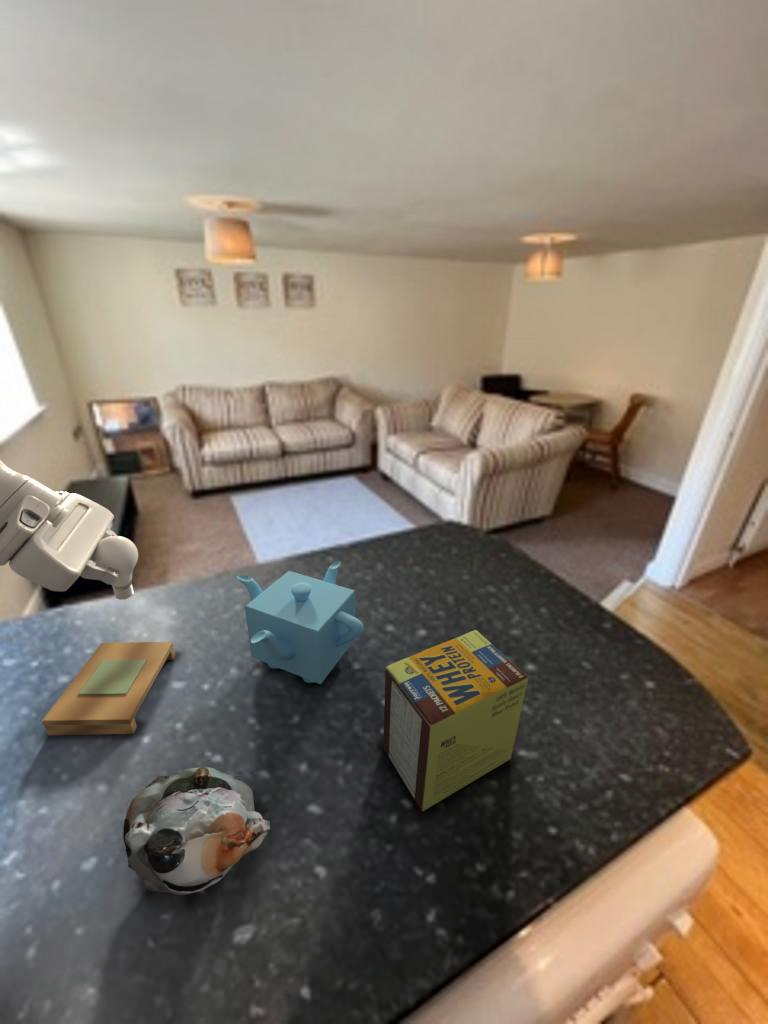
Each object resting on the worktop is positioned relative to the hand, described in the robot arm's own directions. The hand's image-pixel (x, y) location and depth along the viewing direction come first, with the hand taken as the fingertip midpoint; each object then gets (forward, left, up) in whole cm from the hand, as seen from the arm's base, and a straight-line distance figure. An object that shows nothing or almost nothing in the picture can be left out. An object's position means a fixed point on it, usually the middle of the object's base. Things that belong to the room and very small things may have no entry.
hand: (121, 565), depth 70 cm
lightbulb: (-1, 0, -6) cm, 6 cm away
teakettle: (+27, +1, -19) cm, 33 cm away
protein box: (+50, -19, -19) cm, 57 cm away
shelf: (-1, -7, -19) cm, 20 cm away
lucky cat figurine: (+20, -30, -19) cm, 41 cm away
